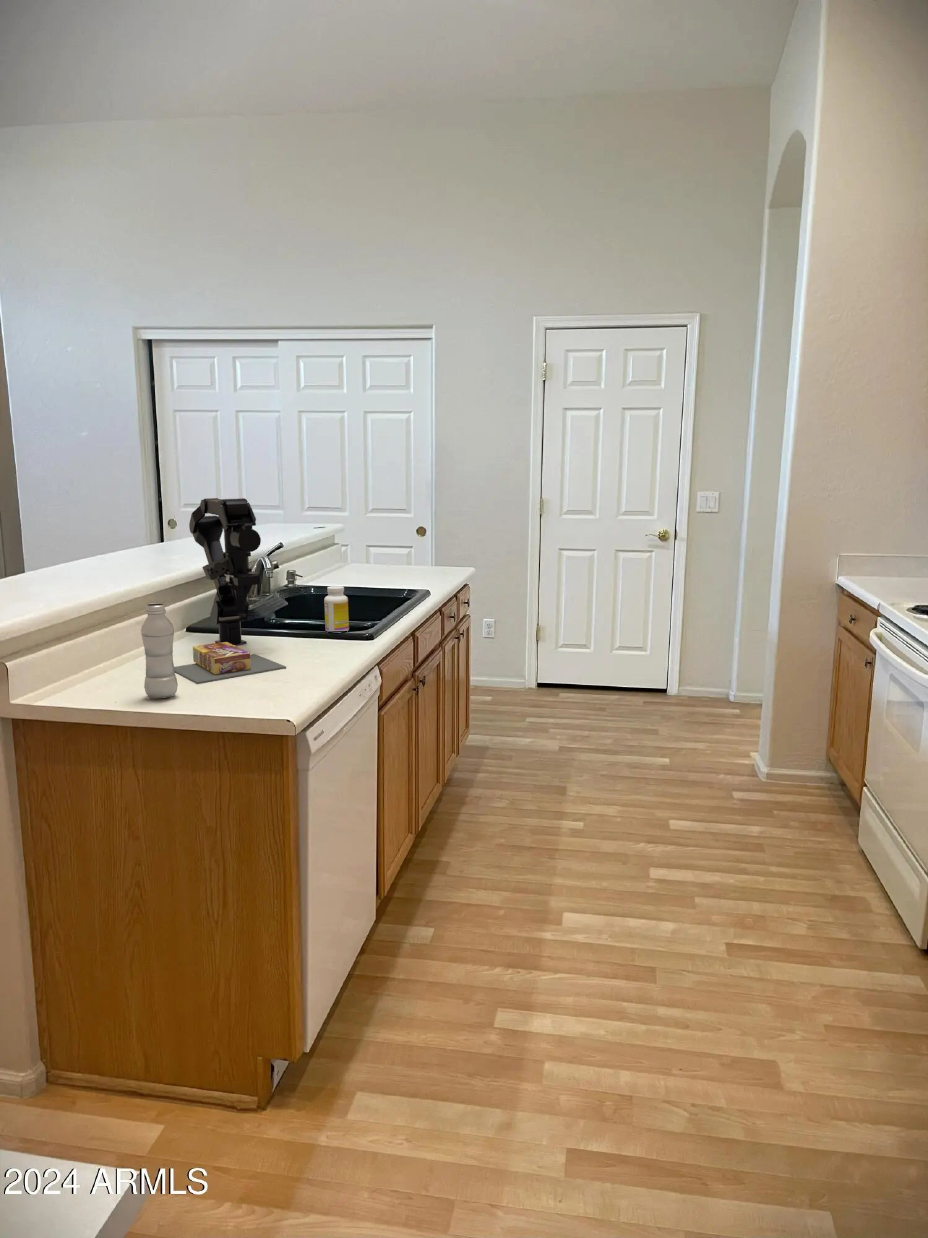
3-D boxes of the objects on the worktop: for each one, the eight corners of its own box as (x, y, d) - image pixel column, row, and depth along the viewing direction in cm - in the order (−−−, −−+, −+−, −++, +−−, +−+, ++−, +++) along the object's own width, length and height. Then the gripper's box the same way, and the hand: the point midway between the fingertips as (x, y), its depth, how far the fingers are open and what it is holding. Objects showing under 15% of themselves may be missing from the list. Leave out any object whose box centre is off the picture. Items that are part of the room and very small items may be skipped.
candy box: (193, 663, 214) (214, 675, 202) (191, 646, 214) (213, 657, 201) (228, 658, 219) (251, 669, 207) (227, 641, 219) (250, 651, 206)
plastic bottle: (149, 693, 189) (142, 602, 185) (181, 692, 190) (175, 601, 186) (141, 702, 183) (133, 607, 179) (174, 701, 183) (168, 607, 180)
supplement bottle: (353, 630, 253) (352, 586, 250) (340, 634, 247) (339, 589, 244) (333, 628, 255) (332, 584, 253) (320, 632, 249) (319, 588, 247)
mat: (169, 669, 210) (169, 667, 210) (254, 655, 223) (254, 653, 223) (197, 684, 197) (197, 682, 197) (286, 668, 210) (286, 666, 210)
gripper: (193, 547, 227) (197, 606, 230) (216, 554, 212) (220, 617, 215) (236, 544, 233) (239, 602, 236) (261, 550, 218) (264, 613, 221)
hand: (239, 608), depth 227 cm, fingers closed
